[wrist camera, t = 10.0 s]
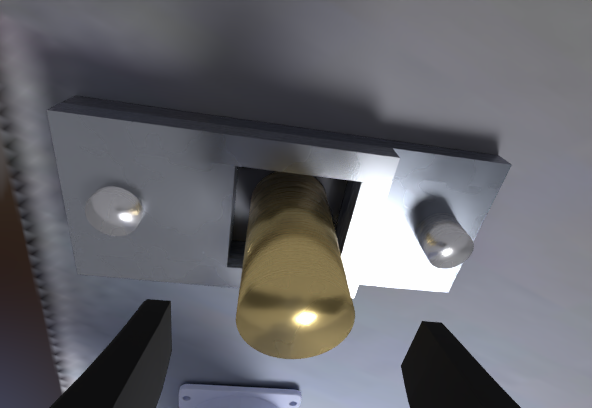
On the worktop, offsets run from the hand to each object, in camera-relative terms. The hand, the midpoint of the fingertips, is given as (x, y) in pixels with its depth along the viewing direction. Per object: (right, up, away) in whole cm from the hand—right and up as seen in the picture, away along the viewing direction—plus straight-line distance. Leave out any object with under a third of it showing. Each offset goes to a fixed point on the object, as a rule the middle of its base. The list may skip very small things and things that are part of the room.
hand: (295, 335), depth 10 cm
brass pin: (0, +4, +7) cm, 8 cm away
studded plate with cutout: (0, +4, +7) cm, 8 cm away
